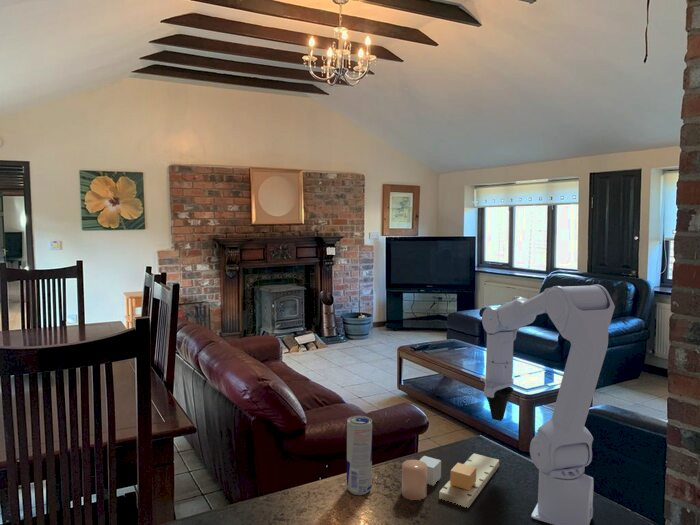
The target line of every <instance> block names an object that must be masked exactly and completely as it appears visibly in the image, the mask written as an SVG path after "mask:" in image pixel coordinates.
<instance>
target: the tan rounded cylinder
mask: <svg viewBox="0 0 700 525" xmlns="http://www.w3.org/2000/svg"><path fill="white" fill-rule="evenodd" d="M419 460H420V459H419ZM419 460H418V459H407V460H405V461H404V462H402V464H401V496H402V497H403V498H404V499H406V500H408V499H409V501H413V500H419V501H422V500H421V499H423V500H424V499H426V498H425V497H427V492H428V491H427V490H428V488H427V487H428V484H427V465H426V463H424V462H422V461H419Z"/></svg>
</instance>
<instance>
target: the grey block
mask: <svg viewBox="0 0 700 525" xmlns="http://www.w3.org/2000/svg"><path fill="white" fill-rule="evenodd" d="M419 461H422V462H424V463H426V465H427V485H428V484H429V486H431V485H432V487H434V486H435V485H436V484H437V483H438V482H437V481H440V480H441V478H442V460H440V459H437V458H434V457H430V456H426V455H423V456H422V457H421V458H420V459H419ZM436 482H437V483H436Z"/></svg>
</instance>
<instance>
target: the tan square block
mask: <svg viewBox="0 0 700 525" xmlns="http://www.w3.org/2000/svg"><path fill="white" fill-rule="evenodd" d="M449 472H450V477H449V480H450V485H453V486H457V487H460V488H463V489H467V490H470V489H471V487H472V486H473V485H474V484H475V482H476V467H472V466H469V465H465V464H464V463H461V462H457V463H456V464H455V465H454V466H453V467H452V468H451V470H450V471H449Z"/></svg>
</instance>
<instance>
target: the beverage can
mask: <svg viewBox="0 0 700 525" xmlns="http://www.w3.org/2000/svg"><path fill="white" fill-rule="evenodd" d="M346 421H347V424H346V489H347V490H348V491H349V492H350V493H351V494H353V495H356V496H365V495H367V493H369V492H370V491H372V484H373V483H372V482H373V481H372V476H373V475H372V474H373V470H372V469H373V467H372V466H373V419H372V418H370V417H368V416H366V415H365V416H364V415H354V416H353V415H352V416H350V417H348V418H347V420H346Z"/></svg>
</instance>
